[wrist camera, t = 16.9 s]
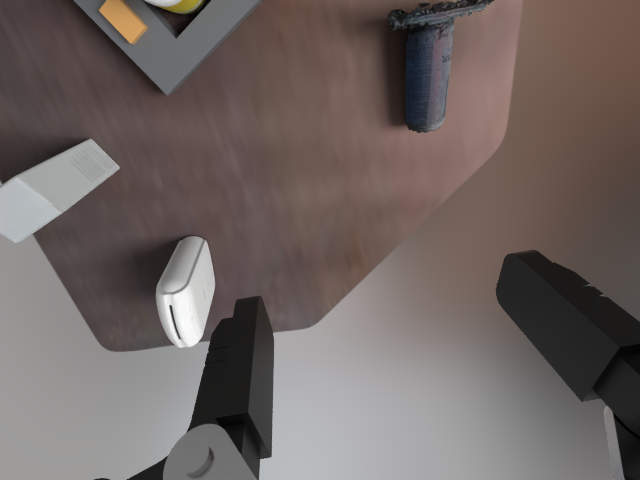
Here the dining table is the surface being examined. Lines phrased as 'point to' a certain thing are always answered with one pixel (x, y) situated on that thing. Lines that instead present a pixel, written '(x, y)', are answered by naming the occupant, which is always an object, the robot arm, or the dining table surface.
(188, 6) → the supplement bottle
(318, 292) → the dining table surface
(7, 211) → the skincare box
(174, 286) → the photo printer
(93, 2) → the socket strip
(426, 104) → the dark piece
